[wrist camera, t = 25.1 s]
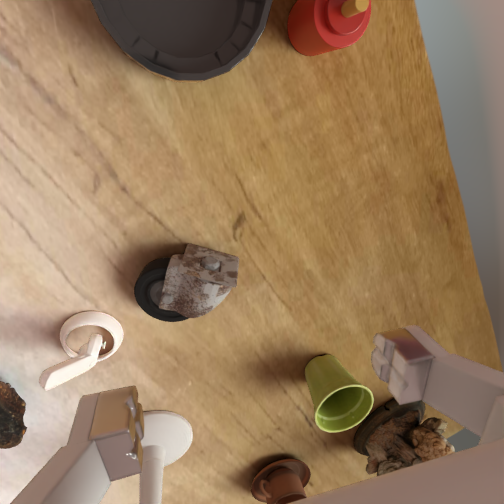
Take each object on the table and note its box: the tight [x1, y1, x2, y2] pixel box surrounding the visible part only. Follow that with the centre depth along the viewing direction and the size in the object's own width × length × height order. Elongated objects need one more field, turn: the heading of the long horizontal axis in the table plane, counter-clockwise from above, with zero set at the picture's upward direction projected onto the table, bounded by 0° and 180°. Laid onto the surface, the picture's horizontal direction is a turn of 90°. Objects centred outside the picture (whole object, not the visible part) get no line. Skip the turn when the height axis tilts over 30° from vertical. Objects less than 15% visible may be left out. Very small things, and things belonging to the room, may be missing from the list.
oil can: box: [287, 0, 371, 56], centre depth 31 cm, size 5×5×10 cm
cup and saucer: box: [251, 459, 311, 504], centre depth 64 cm, size 12×12×6 cm
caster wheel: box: [134, 244, 239, 322], centre depth 41 cm, size 7×11×10 cm
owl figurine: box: [354, 399, 455, 476], centre depth 60 cm, size 18×12×17 cm, turn 140°
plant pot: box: [305, 354, 374, 432], centre depth 53 cm, size 9×9×9 cm
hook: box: [39, 311, 124, 390], centre depth 40 cm, size 8×12×7 cm
